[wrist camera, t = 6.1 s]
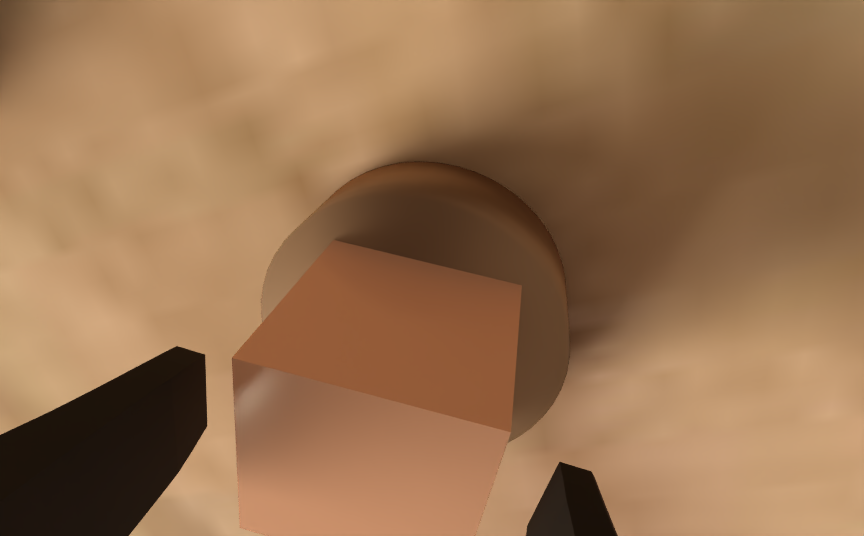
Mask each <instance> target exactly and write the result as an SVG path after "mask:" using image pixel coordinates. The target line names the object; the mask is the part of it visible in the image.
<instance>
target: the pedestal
mask: <svg viewBox="0 0 864 536" xmlns="http://www.w3.org/2000/svg"><path fill="white" fill-rule="evenodd" d="M333 240H336V241H340V242H344V243H349V244H353V245H357V246H361V247H365V248H369V249H373V250H377V251H382V252H386V253H390V254H394V255H398V256H402V257H406V258H411V259H415V260H419V261H423V262H427V263H431V264H435V265H439V266H444V267H448V268H452V269H456V270H460V271H464V272H468V273H473V274H477V275H481V276H485V277H489V278H493V279H497V280H502V281H506V282H510V283H514V284H518V285H522V290H521V304H520V318H519V331H518V345H517V358H516V372H515V385H514V399H513V412H512V426H511V434H510V437H509V440H508V442H510V441H512V440H514V439H515V438H517V437H519V436H520V435H522V434H523V433H525V432H526V431H527V430H529V429H530V428H532V427H533V426H534V425H535V424H536V423H537V422H538V421H539V420H540V419H541V418H542V417H543V416H544V415H545V414H546V412H547V411H548V410H549V409H550V407H551V406H552V405H553V403H554V401H555V400H556V398H557V396H558V394H559V392H560V391H561V388H562V386H563V383H564V380H565V377H566V374H567V369H568V364H569V358H570V335H569V322H568V308H567V295H566V282H565V276H564V269H563V265H562V262H561V259H560V255H559V252H558V250H557V248H556V245H555V243H554V241H553V239H552V237H551V235H550V233H549V232H548V231H547V229H546V228H545V226H544V225H543V223H542V222H541V220H540V219H539V218H538V217H537V215H536V214H535V213H534V212H533V211H532V210H531V209H530V208H529V207H528V205H526V204H525V203H524V202H523V201H522V200H521V199H519V198H518V197H517V196H516V195H515V194H514V193H512V192H511V191H509V190H508V189H506V188H505V187H503V186H502V185H500V184H499V183H497V182H495V181H493V180H491V179H489V178H487V177H485V176H483V175H481V174H479V173H476V172H473V171H470V170H467V169H464V168H461V167H458V166H453V165H448V164H443V163H435V162H405V163H397V164H392V165H387V166H383V167H380V168H377V169H374V170H371V171H369V172H366V173H364V174H362V175H360V176H358V177H356V178H354V179H353V180H351V181H349V182H348V183H347V184H345V185H344V186H343V187H341V188H340V189H338V190H337V191H336V192H335V193H334V194H333V195H332V196H331V197H330V198H329V199H328V200H326V201H325V202H324V203H323V204H322V205H321V206H320V207H319V208H318V209H317V210H316V211H315V212H314V213H312V214H311V215H310V216H309V217H308V218H307V219H306V220H305V221H304V222H303V223H302V224H301V225H300V226H299V227H297V228H296V229H295V230H294V231H293V233H292V234H291V235H290V236H289V237H288V238H287V239H286V240H285V241H284V242H283V244H282V245H281V246H280V248H279V249H278V251H277V252H276V254H275V255H274V257H273V259H272V261H271V263H270V266H269V268H268V270H267V273H266V277H265V280H264V284H263V290H262V298H261V314H262V322H263V321H264V320H265V319H266V318H267V317H268V315H269V314H270V313H271V312H272V311H273V310H274V308H275V307H276V306H277V305H278V304H279V303H280V301H281V300H282V299H283V298H284V297H285V296H286V294H287V293H288V292H289V291H290V290H291V289H292V287H293V286H294V285H295V284H296V283H297V282H298V281H299V279H300V278H301V277H302V276H303V275H304V274H305V272H306V271H307V270H308V269H309V268H310V267H311V265H312V264H313V263H314V262H315V261H316V260H317V258H318V257H319V256H320V255H321V254H322V253H323V251H324V250H325V249H326V248H327V247H328V246H329V244H330V243H331V242H332V241H333Z"/></svg>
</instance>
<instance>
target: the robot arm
mask: <svg viewBox="0 0 864 536" xmlns="http://www.w3.org/2000/svg"><path fill="white" fill-rule="evenodd" d="M206 427H207V402H206V369H205V355H204V354H201V353H198V352H194V351H191V350H188V349H185V348H181V347H178V346H176V347H174V348H172V349H170V350H168V351H166V352H164V353H162V354H160V355H159V356H157V357H155V358H153V359H151V360H149V361H147V362H145V363H143V364H141V365H140V366H138V367H136V368H134V369H132V370H130V371H128V372H126V373H124V374H122V375H121V376H119V377H117V378H115V379H113V380H111V381H109V382H107V383H105V384H103V385H102V386H100V387H98V388H96V389H94V390H92V391H90V392H88V393H86V394H84V395H82V396H80V397H78V398H76V399H74V400H72V401H70V402H68V403H66V404H64V405H62V406H60V407H58V408H56V409H54V410H52V411H50V412H48V413H46V414H44V415H42V416H40V417H38V418H36V419H33V420H31V421H29V422H27V423H25V424H23V425H21V426H19V427H16V428H14V429H12V430H10V431H8V432H6V433H4V434H1V435H0V536H129V535H130V533H131V532H132V531H133V530H134V528H135V527H136V526H137V525H138V523H139V522H140V521H141V520H142V518H143V517H144V516H145V515H146V513H147V512H148V511H149V509H150V508H151V507H152V506H153V504H154V503H155V502H156V501H157V499H158V498H159V497H160V495H161V494H162V493H163V492H164V490H165V489H166V488H167V487H168V485H169V484H170V483H171V481H172V480H173V479H174V477H175V476H176V475H177V474H178V472H179V471H180V469H181V468H182V466H183V464H184V463H185V461H186V460H187V458H188V457H189V455H190V453H191V452H192V450H193V449H194V447H195V445H196V444H197V442H198V440H199V439H200V437H201V435H202V434H203V432H204V430H205V429H206ZM526 536H618V535H617V533H616V531H615V528H614V526H613V523H612V521H611V518H610V516H609V513H608V511H607V508H606V506H605V503H604V500H603V498H602V495H601V493H600V490H599V488H598V485H597V482H596V480H595V477H594V475H593V474H592V472H591V471H588V470H585V469H581V468H578V467H575V466H572V465H568V464H565V463H562V462H559V464H558V466H557V468H556V470H555V472H554V474H553V476H552V478H551V480H550V482H549V484H548V486H547V488H546V490H545V492H544V494H543V496H542V498H541V500H540V502H539V504H538V506H537V508H536V510H535V512H534V514H533V516H532V518H531V520H530V521H529V523H528V525H527V533H526Z"/></svg>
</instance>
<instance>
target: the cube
mask: <svg viewBox="0 0 864 536" xmlns="http://www.w3.org/2000/svg"><path fill="white" fill-rule="evenodd" d="M521 290H522V285H518V284H514V283H510V282H506V281H502V280H497V279H493V278H489V277H485V276H481V275H477V274H473V273H468V272H464V271H460V270H456V269H452V268H448V267H444V266H439V265H435V264H431V263H427V262H423V261H419V260H415V259H411V258H406V257H402V256H398V255H394V254H390V253H386V252H382V251H377V250H373V249H369V248H365V247H361V246H357V245H353V244H349V243H344V242H340V241H336V240H333V241H332V242H331V243H330V244H329V246H328V247H327V248H326V249H325V250H324V251H323V253H322V254H321V255H320V256H319V257H318V258H317V260H316V261H315V262H314V263H313V264H312V265H311V267H310V268H309V269H308V270H307V271H306V272H305V274H304V275H303V276H302V277H301V278H300V279H299V281H298V282H297V283H296V284H295V285H294V286H293V287H292V289H291V290H290V291H289V292H288V293H287V294H286V296H285V297H284V298H283V299H282V300H281V301H280V303H279V304H278V305H277V306H276V307H275V308H274V310H273V311H272V312H271V313H270V314H269V315H268V317H267V318H266V319H265V320H264V321H263V322H262V324H261V325H260V326H259V327H258V328H257V329H256V331H255V332H254V333H253V334H252V335H251V336H250V338H249V339H248V340H247V341H246V342H245V343H244V344H243V346H242V347H241V348H240V349H239V350H238V351H237V353H236V354H235V355H234V356H233V357H232V369H233V390H234V412H235V433H236V455H237V476H238V498H239V519H240V528H242V529H246V530H249V531H252V532H256V533H259V534H263V535H266V536H475V535H476V532H477V529H478V527H479V524H480V521H481V518H482V515H483V512H484V509H485V506H486V503H487V500H488V498H489V495H490V492H491V489H492V486H493V483H494V480H495V477H496V474H497V472H498V469H499V466H500V463H501V460H502V457H503V454H504V451H505V448H506V445H507V443H508V440H509V437H510V434H511V426H512V412H513V399H514V385H515V372H516V358H517V345H518V331H519V318H520V304H521Z"/></svg>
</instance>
